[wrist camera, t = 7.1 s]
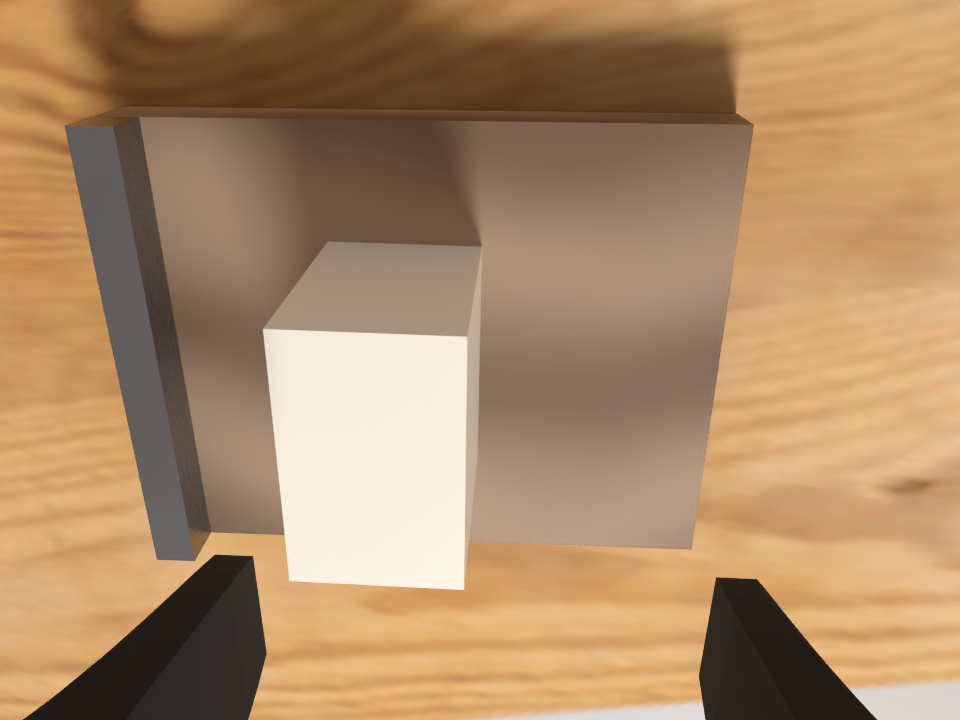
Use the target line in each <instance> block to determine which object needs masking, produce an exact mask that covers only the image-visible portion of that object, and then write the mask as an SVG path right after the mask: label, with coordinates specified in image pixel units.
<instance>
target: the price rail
mask: <svg viewBox="0 0 960 720" xmlns="http://www.w3.org/2000/svg"><path fill="white" fill-rule="evenodd" d="M65 130H66V134H67V139H68V144H69V148H70V153H71V158H72V162H73V167H74V172H75V177H76V181H77V186H78V191H79V195H80V200H81V205H82V209H83V214H84V219H85V224H86V228H87V233H88V238H89V242H90V247H91V252H92V256H93V261H94V266H95V270H96V275H97V280H98V285H99V289H100V294H101V299H102V303H103V308H104V313H105V317H106V322H107V327H108V332H109V336H110V341H111V346H112V350H113V355H114V360H115V364H116V369H117V374H118V378H119V383H120V388H121V393H122V397H123V402H124V407H125V411H126V416H127V421H128V425H129V430H130V435H131V440H132V444H133V449H134V454H135V458H136V463H137V468H138V472H139V477H140V482H141V486H142V491H143V496H144V501H145V505H146V510H147V515H148V519H149V524H150V529H151V533H152V538H153V543H154V548H155V552H156V557H157V560H181V561H195V560H196V558H197V556H198V554H199V553H200V551H201V549H202V547H203V546H204V544H205V542H206V540H207V538H208V537H209V535H210V533H211V529H210V523H209V517H208V512H207V506H206V500H205V494H204V489H203V483H202V477H201V471H200V466H199V460H198V454H197V448H196V442H195V437H194V431H193V425H192V419H191V414H190V408H189V402H188V396H187V391H186V385H185V379H184V373H183V367H182V362H181V356H180V350H179V344H178V339H177V333H176V327H175V321H174V316H173V310H172V304H171V298H170V292H169V287H168V281H167V275H166V269H165V264H164V258H163V252H162V246H161V240H160V235H159V229H158V223H157V217H156V212H155V206H154V200H153V194H152V189H151V183H150V177H149V171H148V165H147V160H146V154H145V148H144V142H143V137H142V131H141V125H140V119H139V117H103V116H93V117H90V118H87V119H84V120H81V121H78V122H75V123H72V124H69V125H66V126H65Z"/></svg>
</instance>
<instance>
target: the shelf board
mask: <svg viewBox="0 0 960 720" xmlns="http://www.w3.org/2000/svg"><path fill="white" fill-rule="evenodd" d="M96 116H103V117H139V119H140V125H141V131H142V137H143V142H144V148H145V154H146V160H147V165H148V171H149V177H150V183H151V189H152V194H153V200H154V206H155V212H156V217H157V223H158V229H159V235H160V240H161V246H162V252H163V258H164V264H165V269H166V275H167V281H168V287H169V292H170V298H171V304H172V310H173V316H174V321H175V327H176V333H177V339H178V344H179V350H180V356H181V362H182V367H183V373H184V379H185V385H186V391H187V396H188V402H189V408H190V414H191V419H192V425H193V431H194V437H195V442H196V448H197V454H198V460H199V466H200V471H201V477H202V483H203V489H204V494H205V500H206V506H207V512H208V517H209V523H210V529H211V532H219V533H247V534H274V535H285V532H284V523H283V514H282V504H281V495H280V485H279V476H278V467H277V457H276V448H275V438H274V429H273V420H272V410H271V401H270V391H269V382H268V373H267V363H266V354H265V344H264V335H263V328H264V327H265V325H266V324H267V323H268V321H269V320H270V319H271V317H272V316H273V315H274V313H275V312H276V311H277V309H278V308H279V306H280V305H281V304H282V302H283V301H284V300H285V298H286V297H287V296H288V294H289V293H290V292H291V290H292V289H293V288H294V286H295V285H296V284H297V282H298V281H299V280H300V278H301V277H302V276H303V274H304V273H305V271H306V270H307V269H308V267H309V266H310V265H311V263H312V262H313V261H314V259H315V258H316V257H317V255H318V254H319V253H320V251H321V250H322V249H323V247H324V246H325V245H326V243H327V242H328V241H330V242H359V243H388V244H418V245H447V246H476V247H482V271H481V319H480V367H479V415H478V456H477V466H476V476H475V486H474V496H473V506H472V516H471V526H470V535H469V542H496V543H523V544H551V545H579V546H606V547H634V548H662V549H689V550H691V549H692V542H693V535H694V529H695V522H696V515H697V508H698V501H699V495H700V488H701V481H702V474H703V467H704V461H705V454H706V447H707V440H708V433H709V427H710V420H711V413H712V406H713V399H714V393H715V386H716V379H717V372H718V365H719V359H720V352H721V345H722V338H723V331H724V325H725V318H726V311H727V304H728V297H729V290H730V284H731V277H732V270H733V263H734V256H735V250H736V243H737V236H738V229H739V222H740V216H741V209H742V202H743V195H744V188H745V182H746V175H747V168H748V161H749V154H750V148H751V141H752V134H753V127H754V125H753V124H752V123H750V122H749V121H747V120H746V119H744V118H743V117H741V116H740V115H738V114H735V113H653V112H570V111H488V110H406V109H323V108H241V107H158V106H124V107H121V108H118V109H114V110H111V111H108V112H105V113H102V114H99V115H96Z"/></svg>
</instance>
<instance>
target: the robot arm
mask: <svg viewBox="0 0 960 720" xmlns="http://www.w3.org/2000/svg"><path fill="white" fill-rule="evenodd" d="M266 654H267V653H266V646H265V639H264V632H263V625H262V618H261V611H260V604H259V596H258V589H257V582H256V575H255V568H254V561H253V556H233V555H214V556H213V557H212V558H211V559H210V560H208V561H207V562H206V563H205V564H204V565H203V566H202V567H201V568H200V569H198V570H197V571H196V572H195V573H194V574H193V575H192V576H191V577H190V578H189V579H188V580H187V581H186V582H184V583H183V584H182V585H181V586H180V587H179V588H178V589H177V590H176V591H175V592H174V593H173V594H172V595H171V596H170V597H168V598H167V599H166V600H165V601H164V602H163V603H162V604H161V605H160V606H159V607H158V608H157V609H156V610H154V611H153V612H152V613H151V614H150V615H149V616H148V617H147V618H146V619H145V620H143V621H142V622H141V623H140V624H139V625H138V626H137V627H136V628H135V629H133V630H132V631H131V632H130V633H129V634H128V635H127V636H126V637H124V638H123V639H122V640H121V641H120V642H119V643H118V644H117V645H116V646H114V647H113V648H112V649H111V650H110V651H109V652H108V653H106V654H105V655H104V656H103V657H102V658H101V659H99V660H98V661H97V662H96V663H94V664H93V665H92V666H91V667H90V668H88V669H87V670H86V671H85V672H84V673H82V674H81V675H80V676H79V677H77V678H76V679H75V680H74V681H73V682H71V683H70V684H69V685H68V686H67V687H65V688H64V689H63V690H62V691H60V692H59V693H58V694H57V695H55V696H54V697H53V698H51V699H50V700H49V701H48V702H46V703H45V704H44V705H42V706H41V707H40V708H38V709H37V710H36V711H34V712H33V713H32V714H30V715H29V716H28V717H26V718H25V719H23V720H248V718H249V715H250V712H251V708H252V705H253V701H254V698H255V695H256V691H257V688H258V684H259V680H260V676H261V673H262V669H263V665H264V661H265V658H266ZM699 679H700V686H701V693H702V700H703V706H704V712H705V719H706V720H877V719H876V718H875V717H874V716H873V715H872V714H871V713H870V712H869V711H868V710H867V708H865V706H864V705H863V704H862V703H861V702H860V701H859V700H858V699H857V698H856V697H855V695H854V694H853V693H852V692H851V691H850V690H849V689H848V688H847V686H846V685H845V684H844V683H843V682H842V681H841V680H840V678H839V677H838V676H837V675H836V674H835V673H834V672H833V671H832V669H831V668H830V667H829V666H828V665H827V664H826V663H825V661H824V660H823V659H822V658H821V657H820V656H819V654H818V653H817V652H816V651H815V650H814V648H813V647H812V646H811V645H810V644H809V642H808V641H807V640H806V639H805V638H804V636H803V635H802V634H801V633H800V632H799V630H798V629H797V628H796V627H795V625H794V624H793V623H792V622H791V620H790V619H789V618H788V617H787V616H786V614H785V613H784V612H783V611H782V609H781V608H780V607H779V606H778V604H777V603H776V602H775V601H774V599H773V598H772V597H771V596H770V594H769V593H768V592H767V591H766V589H765V588H764V587H763V586H762V585H761V584H760V582H759V581H758V580H757V579H738V578H716V582H715V587H714V593H713V599H712V604H711V610H710V616H709V622H708V627H707V633H706V639H705V644H704V650H703V656H702V661H701V667H700V673H699Z"/></svg>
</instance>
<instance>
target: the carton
mask: <svg viewBox="0 0 960 720" xmlns="http://www.w3.org/2000/svg"><path fill="white" fill-rule="evenodd" d="M481 271H482V247H476V246H447V245H418V244H388V243H359V242H330V241H328V242H327V243H326V245H325V246H324V247H323V249H322V250H321V251H320V253H319V254H318V255H317V257H316V258H315V259H314V261H313V262H312V263H311V265H310V266H309V267H308V269H307V270H306V271H305V273H304V274H303V276H302V277H301V278H300V280H299V281H298V282H297V284H296V285H295V286H294V288H293V289H292V290H291V292H290V293H289V294H288V296H287V297H286V298H285V300H284V301H283V302H282V304H281V305H280V306H279V308H278V309H277V311H276V312H275V313H274V315H273V316H272V317H271V319H270V320H269V321H268V323H267V324H266V325H265V327H264V328H263V335H264V344H265V354H266V363H267V373H268V382H269V391H270V401H271V410H272V420H273V429H274V438H275V448H276V457H277V467H278V476H279V485H280V495H281V504H282V514H283V523H284V532H285V542H286V551H287V561H288V570H289V579H290V581H300V582H319V583H339V584H359V585H379V586H399V587H418V588H438V589H458V590H464V585H465V575H466V565H467V555H468V545H469V535H470V526H471V516H472V506H473V496H474V486H475V476H476V466H477V456H478V415H479V367H480V319H481Z"/></svg>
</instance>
